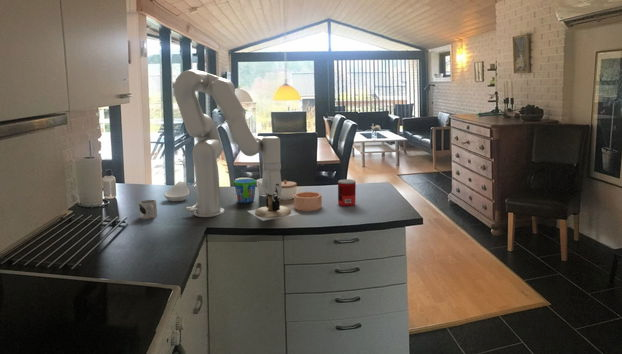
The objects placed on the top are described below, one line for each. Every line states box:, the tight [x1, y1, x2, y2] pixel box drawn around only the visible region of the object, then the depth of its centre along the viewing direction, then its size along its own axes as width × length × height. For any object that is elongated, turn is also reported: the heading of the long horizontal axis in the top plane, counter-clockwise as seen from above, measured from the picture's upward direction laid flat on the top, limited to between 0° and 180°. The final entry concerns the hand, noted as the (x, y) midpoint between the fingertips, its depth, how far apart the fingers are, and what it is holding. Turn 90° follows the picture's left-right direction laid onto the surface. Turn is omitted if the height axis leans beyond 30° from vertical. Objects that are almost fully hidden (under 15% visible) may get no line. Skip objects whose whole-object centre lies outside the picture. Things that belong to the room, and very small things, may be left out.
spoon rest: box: [163, 180, 191, 203], centre depth 215 cm, size 24×12×7 cm, turn 4°
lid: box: [254, 195, 292, 218], centre depth 183 cm, size 15×15×7 cm
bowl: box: [293, 191, 323, 212], centre depth 192 cm, size 12×12×6 cm
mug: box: [138, 199, 158, 220], centre depth 180 cm, size 10×7×7 cm
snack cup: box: [233, 178, 258, 204], centre depth 204 cm, size 16×10×10 cm
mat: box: [247, 209, 301, 222], centre depth 184 cm, size 17×17×1 cm
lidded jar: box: [274, 179, 298, 201], centre depth 208 cm, size 11×11×9 cm
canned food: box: [337, 178, 357, 207], centre depth 197 cm, size 8×8×11 cm
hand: (273, 208), depth 184 cm, fingers open, 5 cm apart
